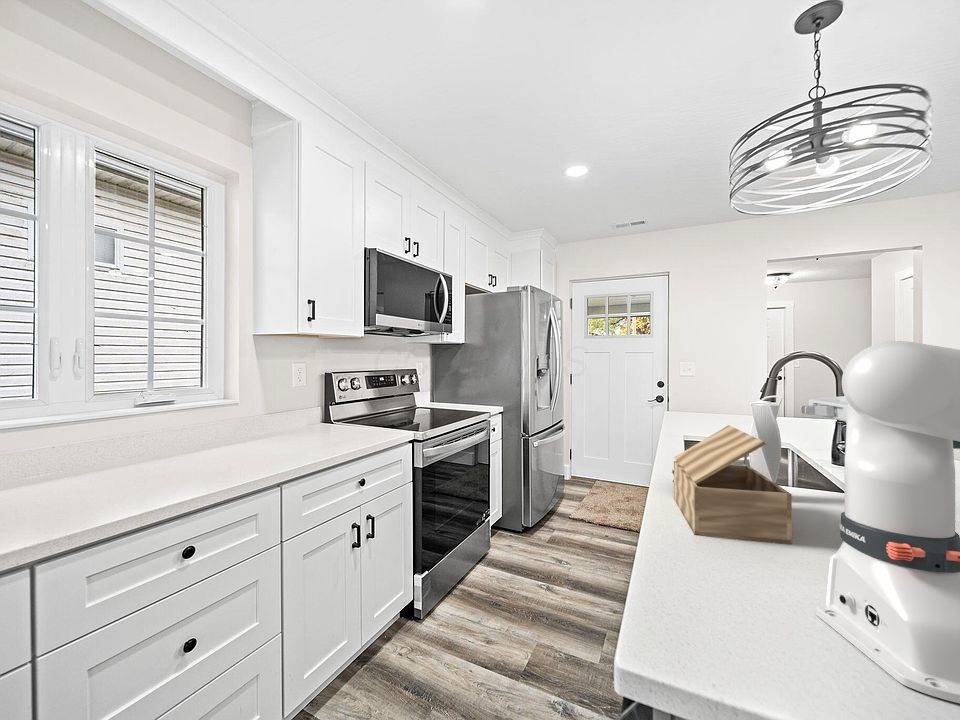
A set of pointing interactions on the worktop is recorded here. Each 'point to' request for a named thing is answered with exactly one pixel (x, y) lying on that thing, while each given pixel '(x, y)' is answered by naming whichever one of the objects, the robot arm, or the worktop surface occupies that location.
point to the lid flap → (717, 452)
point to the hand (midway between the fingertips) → (802, 409)
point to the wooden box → (735, 505)
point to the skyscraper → (765, 439)
